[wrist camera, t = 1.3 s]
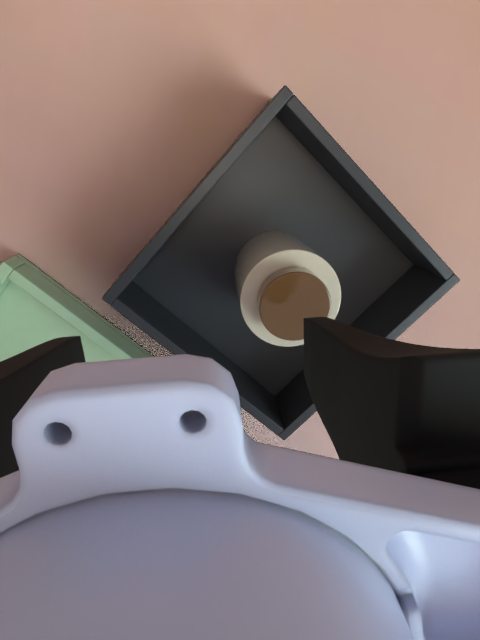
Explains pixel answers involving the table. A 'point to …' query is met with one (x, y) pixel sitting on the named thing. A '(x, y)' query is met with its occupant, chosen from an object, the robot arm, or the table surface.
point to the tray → (53, 316)
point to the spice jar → (283, 287)
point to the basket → (288, 216)
